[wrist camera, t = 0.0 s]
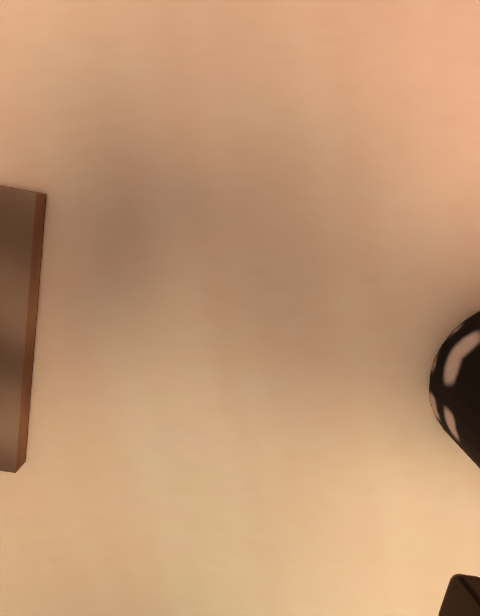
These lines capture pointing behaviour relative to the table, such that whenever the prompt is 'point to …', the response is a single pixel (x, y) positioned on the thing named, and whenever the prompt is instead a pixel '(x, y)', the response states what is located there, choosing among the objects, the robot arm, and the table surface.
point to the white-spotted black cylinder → (459, 387)
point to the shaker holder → (18, 315)
